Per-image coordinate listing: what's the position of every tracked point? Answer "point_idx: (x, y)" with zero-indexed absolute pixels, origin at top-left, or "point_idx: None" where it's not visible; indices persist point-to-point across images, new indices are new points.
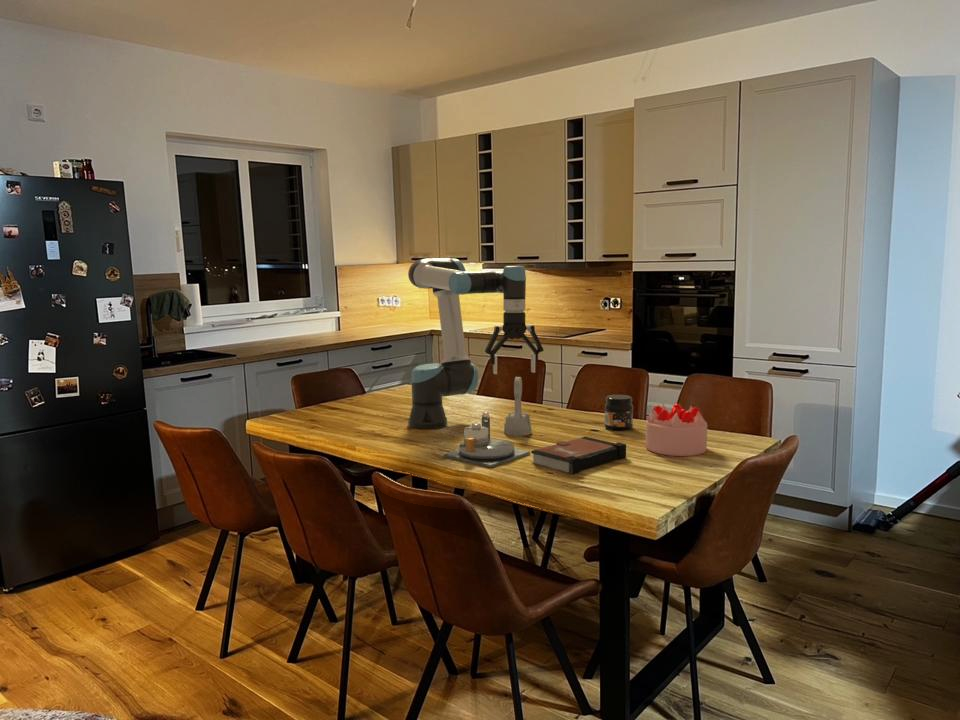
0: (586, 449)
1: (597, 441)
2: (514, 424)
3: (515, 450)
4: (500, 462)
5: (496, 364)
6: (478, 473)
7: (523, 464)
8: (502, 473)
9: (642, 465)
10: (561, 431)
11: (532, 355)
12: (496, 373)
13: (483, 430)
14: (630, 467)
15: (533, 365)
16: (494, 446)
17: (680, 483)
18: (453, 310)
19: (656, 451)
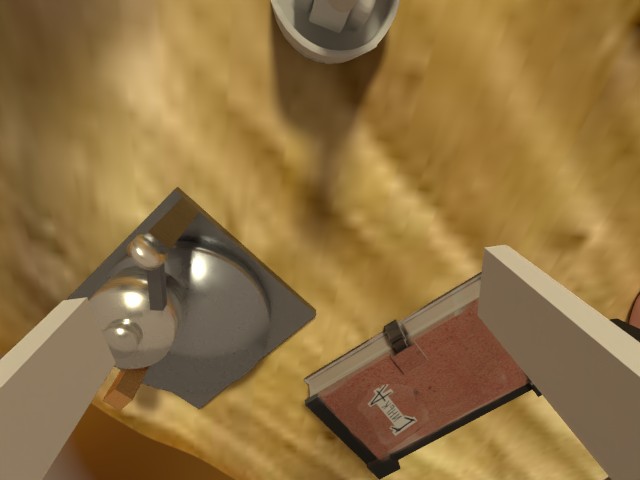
0: (447, 403)
1: None
2: (310, 54)
3: (276, 302)
4: (225, 386)
5: (46, 460)
6: (171, 431)
7: (283, 383)
8: (227, 434)
9: (538, 407)
10: (515, 19)
11: (629, 450)
12: (104, 370)
13: (155, 356)
14: (507, 416)
15: (521, 366)
16: (206, 336)
17: None
18: None
19: None
